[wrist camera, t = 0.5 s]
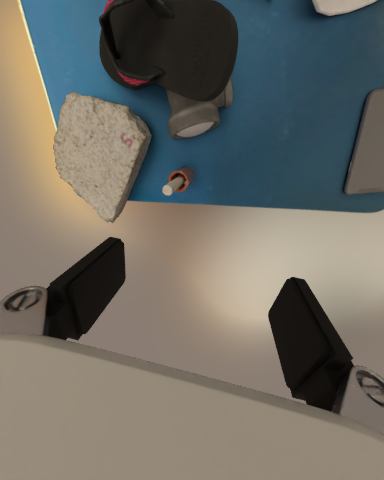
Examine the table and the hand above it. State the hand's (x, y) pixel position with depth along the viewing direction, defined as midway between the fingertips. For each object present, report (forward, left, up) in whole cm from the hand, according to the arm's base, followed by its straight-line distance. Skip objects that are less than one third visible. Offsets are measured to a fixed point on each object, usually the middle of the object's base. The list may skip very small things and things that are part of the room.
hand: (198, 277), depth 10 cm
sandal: (-16, -11, -23) cm, 30 cm away
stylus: (0, -6, -28) cm, 29 cm away
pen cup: (0, -6, -29) cm, 30 cm away
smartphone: (-11, +24, -29) cm, 39 cm away
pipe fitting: (-11, -11, -25) cm, 29 cm away
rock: (-2, -22, -30) cm, 37 cm away
